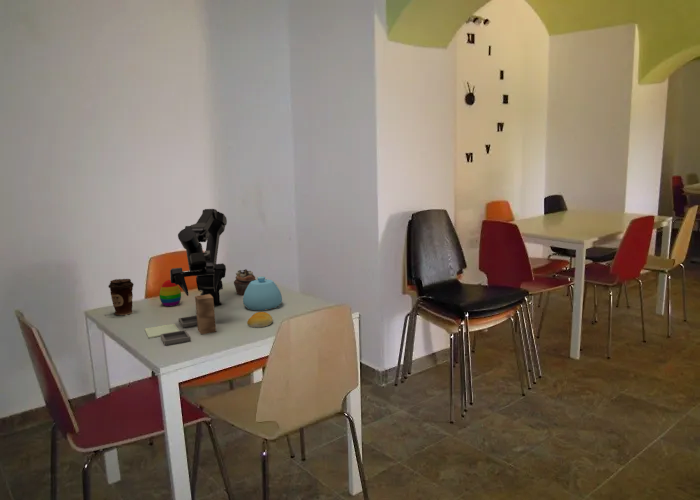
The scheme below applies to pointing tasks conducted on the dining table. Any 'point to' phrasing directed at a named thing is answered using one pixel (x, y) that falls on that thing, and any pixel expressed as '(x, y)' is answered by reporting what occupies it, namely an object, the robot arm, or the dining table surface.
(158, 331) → the pad
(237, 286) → the cupcake
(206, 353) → the dining table surface
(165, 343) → the tray
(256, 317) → the bread roll
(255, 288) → the sugar bowl
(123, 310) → the coffee cup
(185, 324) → the tray
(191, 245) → the robot arm
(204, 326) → the walnut block
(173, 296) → the decorative egg
